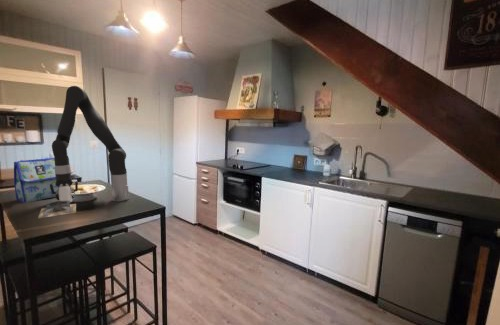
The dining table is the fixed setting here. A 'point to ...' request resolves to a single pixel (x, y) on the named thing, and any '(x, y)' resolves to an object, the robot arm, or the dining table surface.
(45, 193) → the lunch bag
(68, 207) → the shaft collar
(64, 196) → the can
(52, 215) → the shaft board
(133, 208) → the dining table surface
